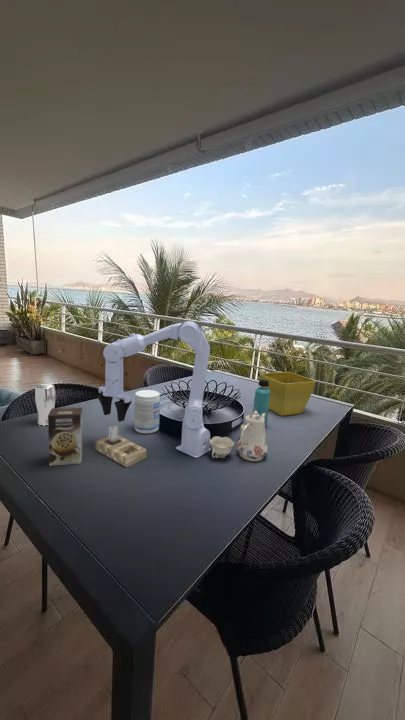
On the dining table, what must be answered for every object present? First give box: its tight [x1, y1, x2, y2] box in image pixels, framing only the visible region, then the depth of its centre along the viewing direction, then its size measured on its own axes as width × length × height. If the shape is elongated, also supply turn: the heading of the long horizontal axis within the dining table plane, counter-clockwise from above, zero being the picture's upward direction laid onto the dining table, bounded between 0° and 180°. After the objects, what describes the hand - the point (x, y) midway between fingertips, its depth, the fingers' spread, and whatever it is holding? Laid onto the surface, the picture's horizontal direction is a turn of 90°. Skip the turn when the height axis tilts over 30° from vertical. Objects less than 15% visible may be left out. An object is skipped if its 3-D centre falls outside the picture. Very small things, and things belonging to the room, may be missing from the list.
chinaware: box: [209, 411, 269, 462], centre depth 111 cm, size 28×17×17 cm, turn 142°
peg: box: [108, 425, 119, 446], centre depth 107 cm, size 3×3×8 cm
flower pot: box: [259, 371, 316, 417], centre depth 154 cm, size 19×19×17 cm
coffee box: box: [47, 407, 83, 467], centre depth 98 cm, size 9×6×16 cm
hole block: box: [95, 434, 147, 468], centre depth 105 cm, size 16×8×3 cm, turn 52°
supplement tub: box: [133, 389, 161, 435], centre depth 124 cm, size 10×10×15 cm
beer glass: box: [34, 383, 56, 427], centre depth 124 cm, size 7×7×15 cm
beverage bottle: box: [252, 379, 270, 426], centre depth 133 cm, size 6×7×20 cm
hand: (114, 417), depth 109 cm, fingers open, 7 cm apart
